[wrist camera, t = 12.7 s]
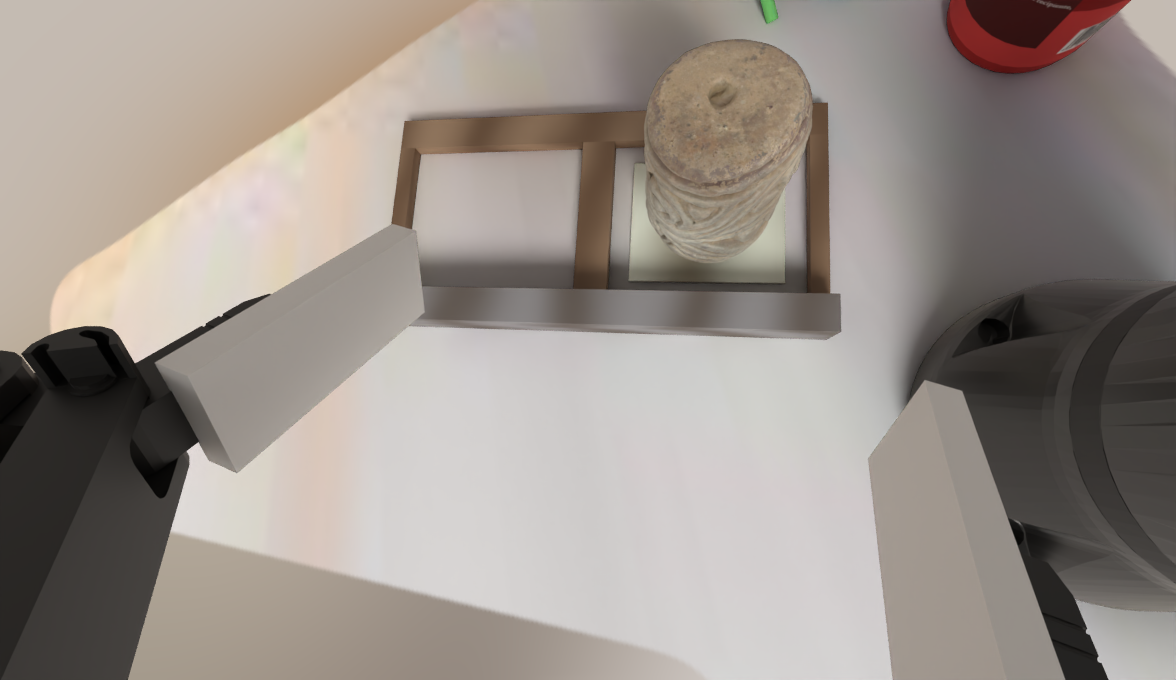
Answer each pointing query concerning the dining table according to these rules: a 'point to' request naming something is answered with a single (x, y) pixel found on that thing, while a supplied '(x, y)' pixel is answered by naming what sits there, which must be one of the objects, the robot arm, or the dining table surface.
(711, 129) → the carving
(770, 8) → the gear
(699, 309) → the rail board
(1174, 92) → the dining table surface
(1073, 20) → the canned food
